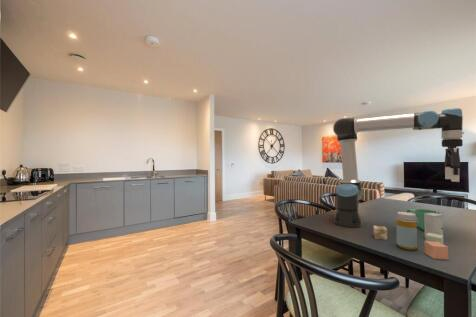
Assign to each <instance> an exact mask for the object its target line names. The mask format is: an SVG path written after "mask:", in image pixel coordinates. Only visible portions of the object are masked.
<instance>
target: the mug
mask: <svg viewBox="0 0 476 317" xmlns="http://www.w3.org/2000/svg"><path fill="white" fill-rule="evenodd" d="M406 212H410V213H413V214H415V217H416V220H417V221H416V220H415V223H416V225H417V227H420V229H421V230H423V231H425V226H424V213H437V214H440V212H437V211H436V210H433V209H422V208H418V209H412V208H408V209H407V210H406Z"/></svg>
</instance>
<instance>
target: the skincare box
mask: <svg viewBox="0 0 476 317" xmlns="http://www.w3.org/2000/svg"><path fill="white" fill-rule="evenodd" d="M437 213H438V212H437ZM437 213H424V226H425V230H424V239H426V234H427V233H433V234H438V235H443V236H444V222H443V221H444V219H443V218H444V216H443V214H441V213H439V214H437Z"/></svg>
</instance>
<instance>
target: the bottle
mask: <svg viewBox="0 0 476 317" xmlns="http://www.w3.org/2000/svg"><path fill="white" fill-rule="evenodd" d="M396 214H397V215H396V216H397V221H396V222H395V223H396V226H395V228H396V245H397V247H399V248H400V249H403V250H407V251H415V250H417V249H418V228H417V227H418V226H417V225H416V223H415V221H416V213H414V212H411V211H410V212H407V211H397V213H396Z"/></svg>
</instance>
